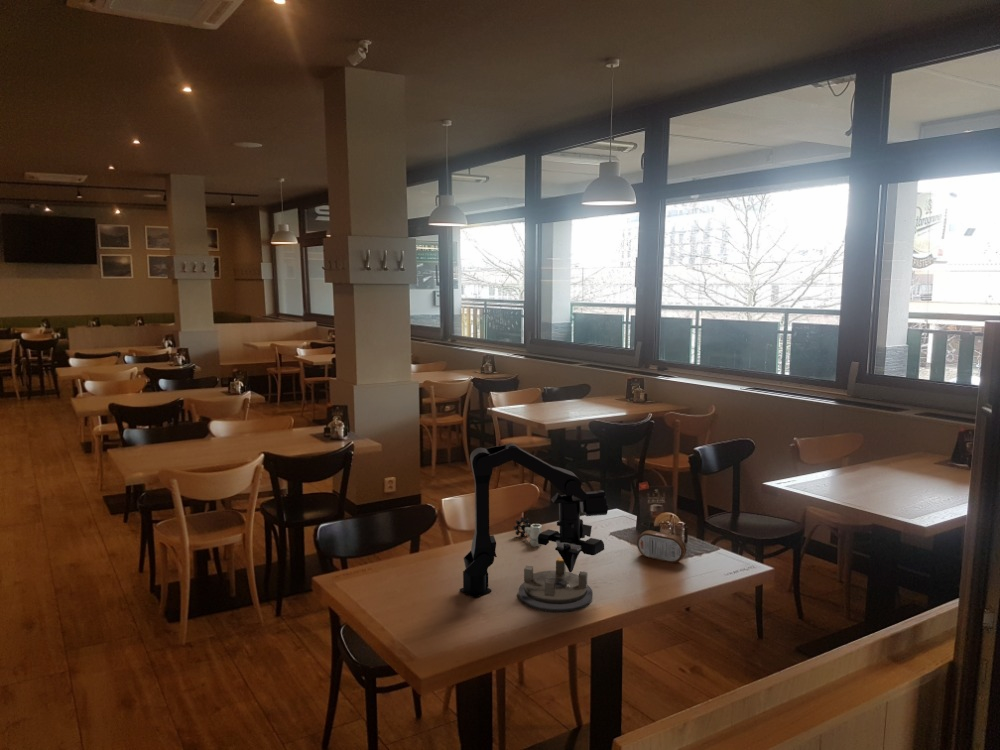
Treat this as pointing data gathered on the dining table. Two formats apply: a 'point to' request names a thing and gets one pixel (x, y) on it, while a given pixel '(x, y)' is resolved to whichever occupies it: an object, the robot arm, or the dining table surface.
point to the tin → (661, 546)
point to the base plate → (555, 607)
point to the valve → (529, 531)
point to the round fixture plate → (555, 584)
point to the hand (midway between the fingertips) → (570, 571)
